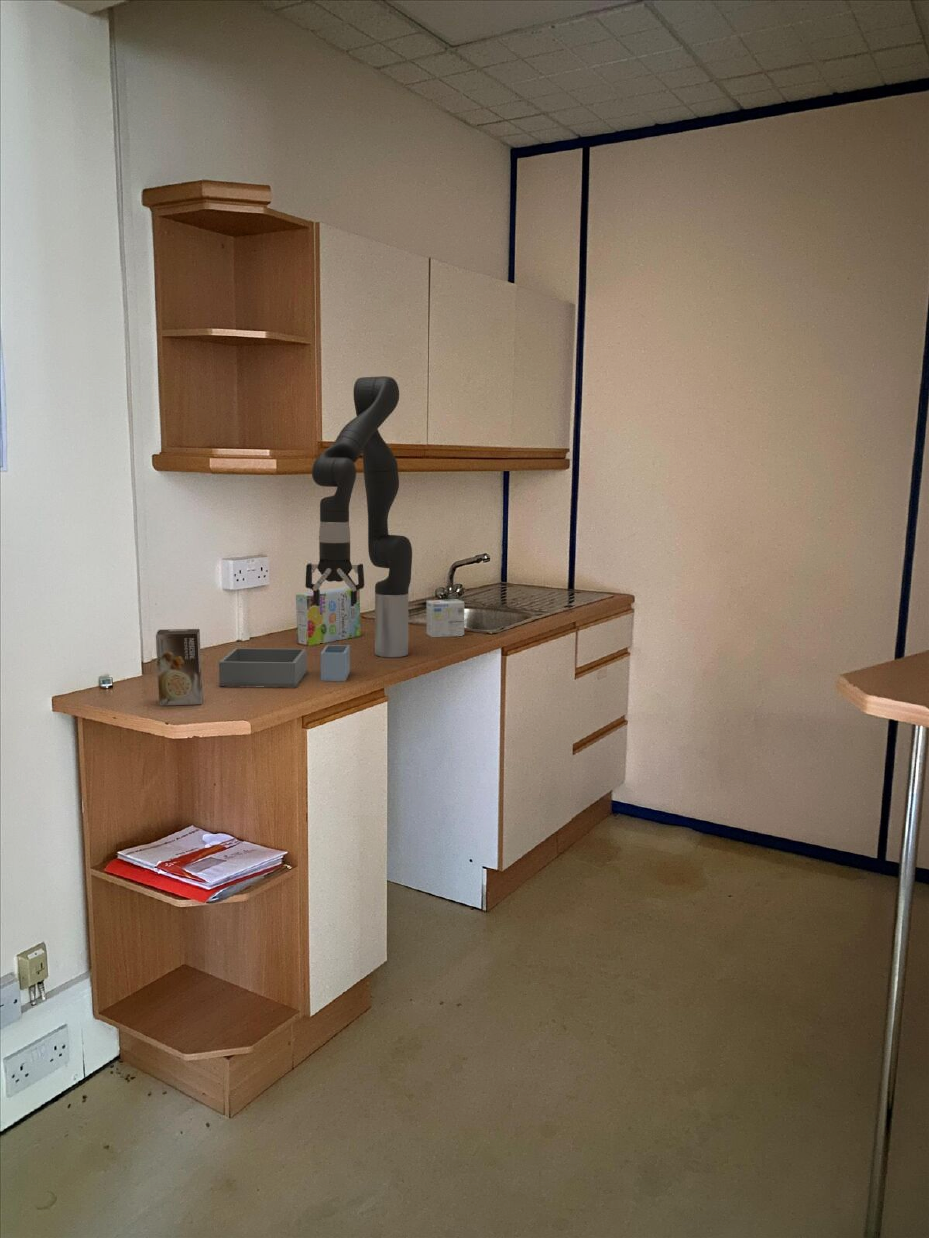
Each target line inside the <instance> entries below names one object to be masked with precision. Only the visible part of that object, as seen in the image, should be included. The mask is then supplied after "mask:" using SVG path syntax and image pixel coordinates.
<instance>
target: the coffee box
mask: <svg viewBox="0 0 929 1238" xmlns="http://www.w3.org/2000/svg"><path fill="white" fill-rule="evenodd" d="M155 647H156V649H155V650H156V662H157V663H156V666H157V667H156V669H157V685H158V686H157V687H158V688H157V689H158V705H159V706H160V707H161V706H163V707H164V706H166V707H167V706H184V705H185V706H188V705H192V706H193V705H202V702H203V700H204V696H203V695H204V694H203V677H202V675H203V674H202V656H201V654H202V653H201V634H200V628H183V629H182V628H177V629H176V628H175V629H173V628H172V629H171V628H170V629H167V628H166V629H158V630H157V632H156V634H155Z"/></svg>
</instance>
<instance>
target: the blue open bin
mask: <svg viewBox="0 0 929 1238" xmlns="http://www.w3.org/2000/svg"><path fill="white" fill-rule="evenodd" d="M350 673H351V645H345V644H343V645H342V644H339V645H338V644H332V645H331V644H326V645H325V646H324V648H322V650H321V652H320V682H346V681H347V680H348V677H349V675H350Z"/></svg>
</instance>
